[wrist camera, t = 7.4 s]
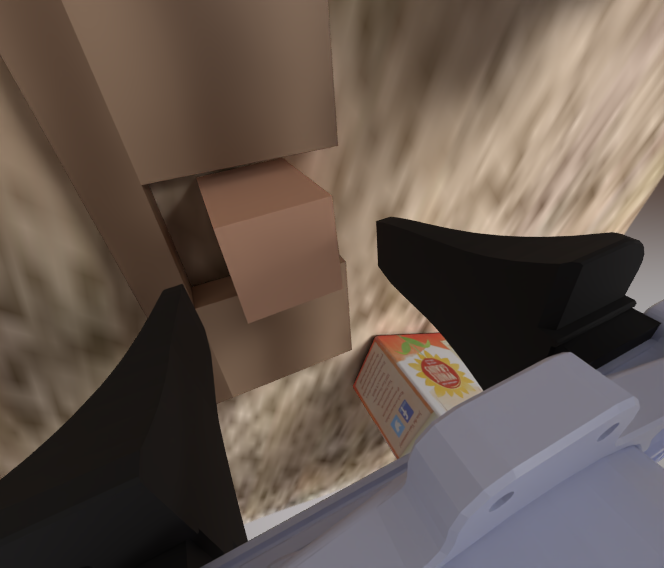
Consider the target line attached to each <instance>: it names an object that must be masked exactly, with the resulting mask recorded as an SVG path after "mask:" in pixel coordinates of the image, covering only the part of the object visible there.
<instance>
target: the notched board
mask: <svg viewBox="0 0 664 568" xmlns="http://www.w3.org/2000/svg"><path fill="white" fill-rule="evenodd" d="M0 55H1V57H2V58H3V60H4V62H5V64H6V66H7V67H8V69H9V71H10V73H11V75H12V76H13V78H14V80H15V82H16V83H17V85H18V87H19V89H20V91H21V92H22V94H23V96H24V98H25V100H26V101H27V103H28V105H29V107H30V109H31V110H32V112H33V114H34V116H35V118H36V119H37V121H38V123H39V125H40V127H41V128H42V130H43V132H44V134H45V136H46V137H47V139H48V141H49V143H50V144H51V146H52V148H53V150H54V152H55V153H56V155H57V157H58V159H59V161H60V162H61V164H62V166H63V168H64V170H65V171H66V173H67V175H68V177H69V179H70V180H71V182H72V184H73V186H74V188H75V189H76V191H77V193H78V195H79V197H80V198H81V200H82V202H83V204H84V205H85V207H86V209H87V211H88V213H89V214H90V216H91V218H92V220H93V222H94V223H95V225H96V227H97V229H98V231H99V232H100V234H101V236H102V238H103V240H104V241H105V243H106V245H107V247H108V249H109V250H110V252H111V254H112V256H113V258H114V259H115V261H116V263H117V265H118V267H119V268H120V270H121V272H122V274H123V275H124V277H125V279H126V281H127V283H128V284H129V286H130V288H131V290H132V292H133V293H134V295H135V297H136V299H137V301H138V302H139V304H140V306H141V308H142V310H143V311H144V313H145V315H146V317H147V319H148V317H149V315H150V313H151V312H152V310H153V308H154V306H155V304H156V302H157V300H158V298H159V297H160V295H161V293H162V291H163V290H165V289H168V288H171V287H174V286H177V285H180V284H183V285H184V287H185V289H186V291H187V293H188V295H189V297H190V299H191V301H192V303H193V306H194V308H195V310H196V312H197V314H198V316H199V318H200V320H201V322H202V324H203V326H204V328H205V331H206V335H207V339H208V342H209V347H210V351H211V357H212V366H213V375H214V385H215V395H216V404H218V403H220V402H223V401H225V400H228V399H230V398H233V397H235V396H238V395H240V394H243V393H245V392H248V391H250V390H253V389H255V388H258V387H260V386H263V385H265V384H268V383H270V382H273V381H275V380H278V379H280V378H283V377H285V376H288V375H290V374H293V373H295V372H298V371H300V370H303V369H305V368H308V367H310V366H313V365H315V364H318V363H320V362H323V361H325V360H328V359H330V358H333V357H335V356H338V355H340V354H343V353H345V352H347V351H350V350H352V345H351V331H350V316H349V301H348V287H347V272H346V261H345V260H344V259H343V258H342V257H341V256H340V255H339V259H340V268H341V276H342V285H343V289H341V290H338V291H336V292H333V293H330V294H328V295H325V296H322V297H319V298H317V299H314V300H311V301H309V302H306V303H303V304H300V305H298V306H295V307H292V308H289V309H287V310H284V311H281V312H279V313H276V314H273V315H270V316H268V317H265V318H262V319H259V320H257V321H254V322H251V323H249V324H248V322H247V319H246V317H245V314H244V311H243V308H242V306H241V303H240V300H239V298H238V295H237V292H236V289H235V287H234V284H233V281H232V278H231V276H228V277H225V278H221V279H218V280H214V281H211V282H208V283H204V284H201V285H197V286H194V287H191V285H190V282H189V280H188V278H187V275H186V273H185V270H184V268H183V266H182V263H181V261H180V258H179V256H178V254H177V251H176V249H175V247H174V244H173V242H172V239H171V237H170V235H169V232H168V230H167V227H166V225H165V223H164V220H163V218H162V216H161V213H160V211H159V208H158V206H157V204H156V201H155V199H154V196H153V194H152V192H151V189H150V187H149V183H154V182H159V181H164V180H169V179H174V178H179V177H184V176H189V175H194V174H199V173H204V172H209V171H214V170H219V169H224V168H229V167H234V166H239V165H245V164H250V163H255V162H260V161H265V160H270V159H275V158H280V157H285V156H290V155H295V154H300V153H305V152H310V151H315V150H320V149H325V148H330V147H335V146H338V140H337V126H336V111H335V96H334V82H333V67H332V52H331V38H330V23H329V9H328V0H0Z"/></svg>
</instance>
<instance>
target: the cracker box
mask: <svg viewBox="0 0 664 568" xmlns="http://www.w3.org/2000/svg"><path fill="white" fill-rule="evenodd" d="M353 388H354V389H355V391H356V393H357V394H358V396H359V398H360V399H361V401H362V403H363V404H364V406H365V408H366V409H367V411H368V413H369V414H370V416H371V418H372V419H373V421H374V422H375V424H376V426H377V428H378V429H379V431H380V433H381V434H382V436H383V438H384V439H385V441H386V443H387V444H388V446H389V447H390V449H391V451H392V452H393V454H394V456H395V457H396V459H399V458H401V457H403V456H404V455H406V454H408V453H410V452H411V450H412V447H413V445H414V443H415V440H416V439H417V438H418V437H419V436H420V435H421V433H422V432H423V431H424V430H425V429H426V428H427V427H428V426H429V425H430V424H431V423H432V421H434V420H435V419H437V418H438V417H440V416H441V415H443V414H444V413H446V412H447V411H448V410H450V409H451V408H453V407H454V406H456V405H458V404H460V403H462V402H464V401H466V400H467V399H469V398H471V397H473V396H475V395H477V394H479V393H481V392H483V390H482V388H481V387H480V385H479V384H478V382H477V381H476V380H475V378H474V377H473V375H472V374H471V373H470V371H469V370H468V368H467V367H466V366H465V364H464V363H463V362H462V360H461V359H460V358H459V356H458V355H457V354H456V352H455V351H454V350H453V348H452V347H451V346H450V345H449V343H448V342H447V341H446V340H445V338H444V337H443V336H442V335H441V334H440V333H430V334H407V335H382V336H376V337H375V338H374V341H373V343H372V345H371V347H370V350H369V352H368V354H367V356H366V358H365V360H364V363H363V365H362V367H361V369H360V372H359V374H358V376H357V378H356V380H355V382H354V384H353Z"/></svg>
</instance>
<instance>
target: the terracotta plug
mask: <svg viewBox="0 0 664 568" xmlns="http://www.w3.org/2000/svg"><path fill="white" fill-rule="evenodd" d="M196 179H197V182H198V185H199V188H200V191H201V194H202V197H203V200H204V203H205V206H206V209H207V211H208V214H209V217H210V220H211V223H212V226H213V229H214V232H215V235H216V237H217V240H218V243H219V246H220V248H221V251H222V254H223V256H224V259H225V262H226V265H227V267H228V270H229V273H230V276H231V278H232V281H233V284H234V287H235V289H236V292H237V295H238V298H239V300H240V303H241V306H242V308H243V311H244V314H245V317H246V319H247V322H248V324H249V323H251V322H254V321H257V320H259V319H262V318H265V317H268V316H270V315H273V314H276V313H279V312H281V311H284V310H287V309H289V308H292V307H295V306H298V305H300V304H303V303H306V302H309V301H311V300H314V299H317V298H319V297H322V296H325V295H328V294H330V293H333V292H336V291H338V290H341V289H343V285H342V276H341V268H340V259H339V250H338V242H337V233H336V224H335V216H334V207H333V199H332V195H330V194H329V193H328V192H326V191H325V190H324V189H322V188H321V187H320V186H318V185H317V184H316V183H314V182H313V181H312V180H311V179H309V178H308V177H307V176H305V175H304V174H303V173H301V172H300V171H299V170H297V169H296V168H295V167H293V166H292V165H291V164H289V163H288V162H287V161H285V160H284V159H283V158H277V159H273V160H269V161H264V162H260V163H256V164H252V165H247V166H243V167H239V168H235V169H230V170H226V171H222V172H218V173H213V174H209V175H205V176H201V177H196Z"/></svg>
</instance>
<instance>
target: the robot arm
mask: <svg viewBox="0 0 664 568" xmlns="http://www.w3.org/2000/svg"><path fill="white" fill-rule="evenodd" d="M376 226H377V251H378V266H379V268H380V269H381V271H382V272H383V273H384V275H385V276H386V277H387V279H388V280H389V281H390V282H391V284H392V285H393V286H394V287H395V288H396V289H397V290H398V291H399V292H400V293H401V294H402V295H403V296H404V297H405V298H406V299H407V300H408V301H409V302H410V303H412V304H413V305H414V306H415V307H416V308H417V309H418V310H419V311H420V312H421V313H422V314H423V315H424V316H425V317H426V318H427V319H428V320H429V321H430V322H431V323H432V324H433V325H434V326H435V328H436V329H437V330H438V331H439V332H440V334H441V335H442V336H443V337H444V338H445V340H446V341H447V342H448V343H449V345H450V346H451V347H452V348H453V350H454V351H455V352H456V354H457V355H458V356H459V358H460V359H461V360H462V362H463V363H464V364H465V366H466V367H467V368H468V370H469V371H470V373H471V374H472V375H473V377H474V378H475V380H476V381H477V382H478V384H479V385H480V387H481V388H482V390H483V392H481V393H479V394H477V395H475V396H473V397H471V398H469V399H467V400H466V401H464V402H462V403H460V404H458V405H456V406H454V407H453V408H451V409H450V410H448V411H447V412H446V413H444V414H443V415H441V416H440V417H438V418H437V419H435V420H434V421H432V423H431V424H430V425H429V426H428V427H427V428H426V429H425V430H424V431H423V432H422V433H421V435H420V436H419V437H418V438H417V439H416V440H415V443H414V445H413V447H412V450H411V452H410V453H408V454H406V455H404V456H403V457H401V458H399V459H397V460H395V461H393V462H392V463H390V464H388V465H386V466H384V467H382V468H381V469H379V470H377V471H375V472H373V473H372V474H370V475H368V476H366V477H364V478H362V479H361V480H359V481H357V482H355V483H353V484H352V485H350V486H348V487H346V488H344V489H342V490H341V491H339V492H337V493H335V494H334V495H332V496H330V497H328V498H326V499H325V500H322V501H321V502H319V503H317V504H315V505H313V506H312V507H310V508H308V509H306V510H304V511H302V512H300V513H299V514H297V515H295V516H293V517H291V518H290V519H288V520H286V521H284V522H282V523H280V524H279V525H277V526H275V527H273V528H271V529H269V530H268V531H266V532H264V533H262V534H260V535H259V536H257V537H255V538H253V539H251V540H249V541H248V540H247V536H246V533H245V529H244V525H243V521H242V517H241V513H240V509H239V505H238V501H237V497H236V493H235V489H234V485H233V481H232V477H231V473H230V469H229V465H228V460H227V456H226V452H225V447H224V443H223V438H222V434H221V429H220V425H219V419H218V413H217V405H216V395H215V385H214V375H213V366H212V357H211V351H210V347H209V342H208V339H207V335H206V331H205V328H204V326H203V324H202V322H201V320H200V318H199V316H198V314H197V312H196V310H195V308H194V306H193V303H192V301H191V299H190V297H189V295H188V293H187V291H186V289H185V287H184V285H183V284H180V285H177V286H174V287H171V288H168V289H165V290H163V291H162V293H161V295H160V297H159V298H158V300H157V302H156V304H155V306H154V308H153V310H152V312H151V313H150V315H149V317H148V319H147V321H146V322H145V324H144V326H143V328H142V329H141V331H140V333H139V334H138V336H137V337H136V339H135V340H134V342H133V344H132V345H131V347H130V348H129V350H128V351H127V353H126V354H125V356H124V357H123V358H122V360H121V361H120V362H119V364H118V365H117V366H116V368H115V369H114V370H113V371H112V373H111V374H110V375H109V376H108V378H107V379H106V380H105V381H104V383H103V384H102V385H101V386H100V387H99V388H98V389H97V390H96V391H95V393H94V394H93V395H92V396H91V397H90V398H89V399H88V400H87V401H86V402H85V403H84V404H83V405H82V406H81V408H80V409H79V410H78V411H77V412H76V413H75V414H74V415H73V416H72V417H71V418H70V419H69V420H68V421H67V422H66V423H65V424H64V425H63V426H62V427H61V428H60V429H59V430H57V431H56V432H55V433H54V434H53V435H52V436H51V437H50V438H49V439H48V440H47V441H46V442H44V443H43V444H42V445H41V446H40V447H39V448H38V449H37V450H36V451H34V452H33V453H32V454H31V455H30V456H29V457H28V458H26V459H25V460H24V461H23V462H22V463H20V464H19V465H18V466H17V467H16V468H14V469H13V470H12V471H11V472H9V473H8V474H7V475H6V476H5V477H3V478H2V479H1V480H0V568H664V468H662V467H661V466H660V465H659V464H657V462H659V461H660V460H661V459H662V458H664V300H662V301H660V302H658V303H656V304H654V305H653V306H651V307H650V308H648V309H647V310H646V311H645V313H644V314H643V313H641V312H639V311H637V310H635V309H633V308H632V307H635V305H636V301H635V300H634V299H631V298H629V297H628V296H626V295H625V294H626V292H627V290H628V288H629V286H630V284H631V283H632V281H633V279H634V277H635V275H636V273H637V272H638V270H639V267H640V265H641V263H642V261H643V257H644V246H643V244H642V243H641V242H640V241H639V240H636V239H633V238H631V237H627V236H625V235H623V234H619V233H613V232H611V233H600V234H588V235H577V236H557V237H518V236H499V235H489V234H480V233H472V232H466V231H460V230H454V229H449V228H444V227H439V226H435V225H430V224H426V223H421V222H417V221H412V220H408V219H403V218H397V217H388V218H385V219H382V220H379V221H376Z"/></svg>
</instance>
